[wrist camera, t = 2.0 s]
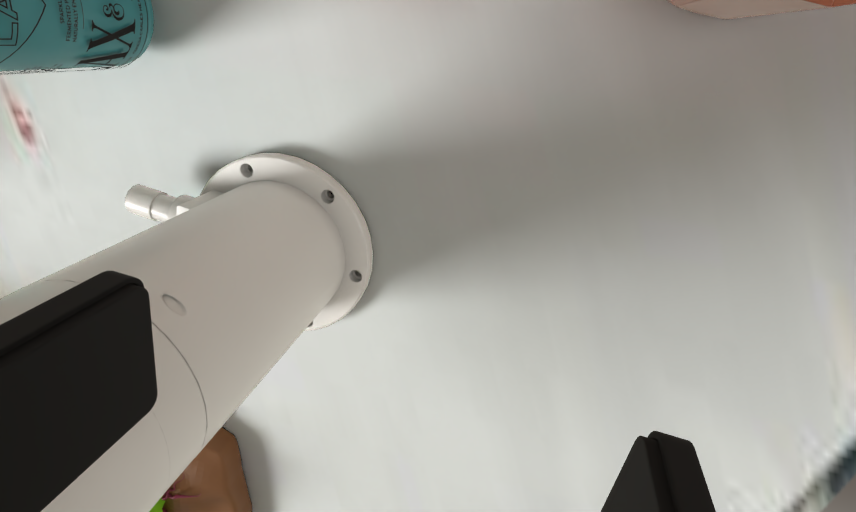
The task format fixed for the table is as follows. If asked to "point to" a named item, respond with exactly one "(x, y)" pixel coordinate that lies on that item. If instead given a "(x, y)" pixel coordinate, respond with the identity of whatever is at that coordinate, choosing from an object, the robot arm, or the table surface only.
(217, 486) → the plant
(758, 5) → the canister
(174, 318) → the robot arm
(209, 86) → the table surface
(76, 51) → the beverage bottle
